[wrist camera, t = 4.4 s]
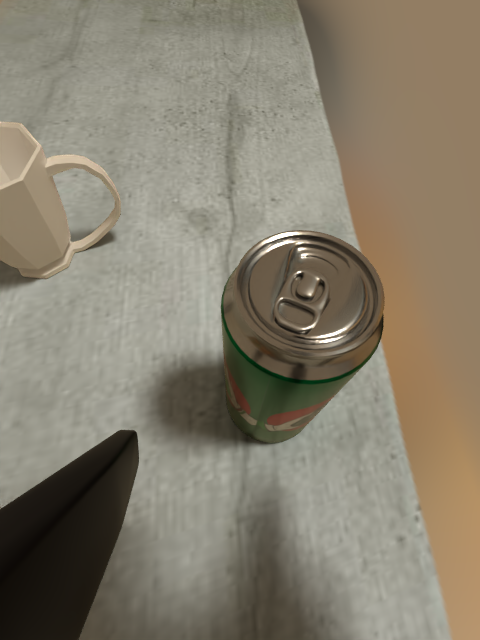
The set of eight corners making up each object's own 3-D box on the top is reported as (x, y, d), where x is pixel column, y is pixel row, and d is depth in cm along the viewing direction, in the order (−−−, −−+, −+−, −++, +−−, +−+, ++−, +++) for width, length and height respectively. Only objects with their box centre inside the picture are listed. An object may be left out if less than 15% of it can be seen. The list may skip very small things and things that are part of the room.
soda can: (322, 380, 21) (415, 253, 10) (293, 460, 19) (373, 404, 8) (247, 347, 22) (262, 200, 11) (211, 420, 20) (187, 322, 9)
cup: (-5, 231, 26) (-94, 128, 19) (126, 204, 28) (90, 101, 20) (-7, 306, 23) (-115, 217, 16) (141, 271, 24) (104, 176, 17)
